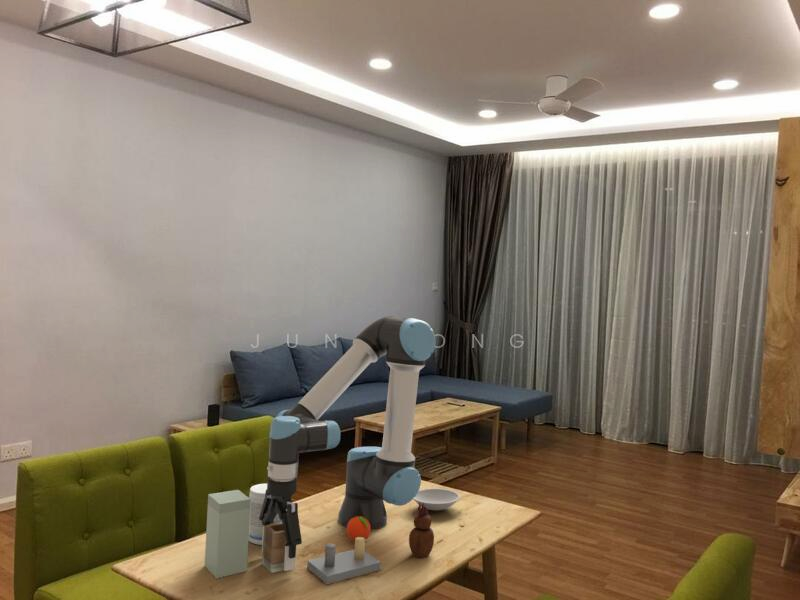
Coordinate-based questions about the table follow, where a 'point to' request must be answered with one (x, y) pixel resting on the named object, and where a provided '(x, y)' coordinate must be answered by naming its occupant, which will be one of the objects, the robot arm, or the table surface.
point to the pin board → (344, 563)
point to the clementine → (358, 527)
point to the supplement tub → (257, 513)
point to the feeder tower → (227, 533)
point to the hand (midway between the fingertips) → (277, 559)
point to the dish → (436, 498)
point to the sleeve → (274, 547)
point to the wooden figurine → (421, 534)
